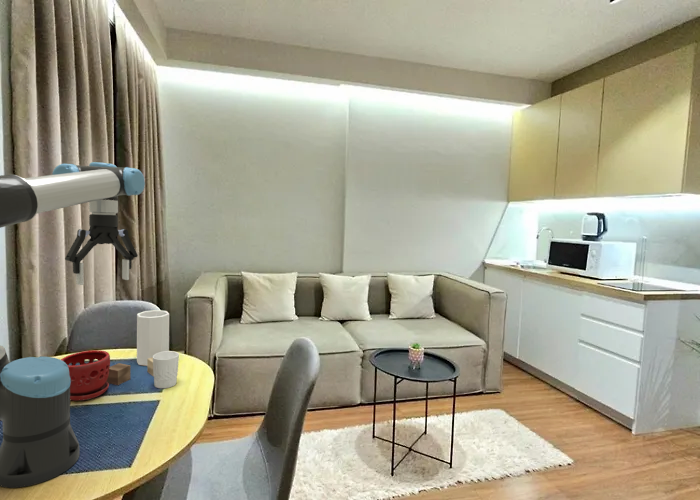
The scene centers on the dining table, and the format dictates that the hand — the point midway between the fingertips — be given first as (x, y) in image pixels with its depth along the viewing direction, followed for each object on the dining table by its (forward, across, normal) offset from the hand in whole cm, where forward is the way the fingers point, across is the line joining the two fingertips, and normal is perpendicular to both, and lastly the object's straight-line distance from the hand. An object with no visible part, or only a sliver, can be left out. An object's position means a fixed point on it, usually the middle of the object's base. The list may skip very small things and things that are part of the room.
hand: (103, 281), depth 123 cm
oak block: (+35, -17, +2) cm, 39 cm away
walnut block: (+35, -5, -2) cm, 35 cm away
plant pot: (+35, +6, 0) cm, 35 cm away
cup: (+35, -22, -9) cm, 42 cm away
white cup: (+35, -13, +12) cm, 39 cm away
